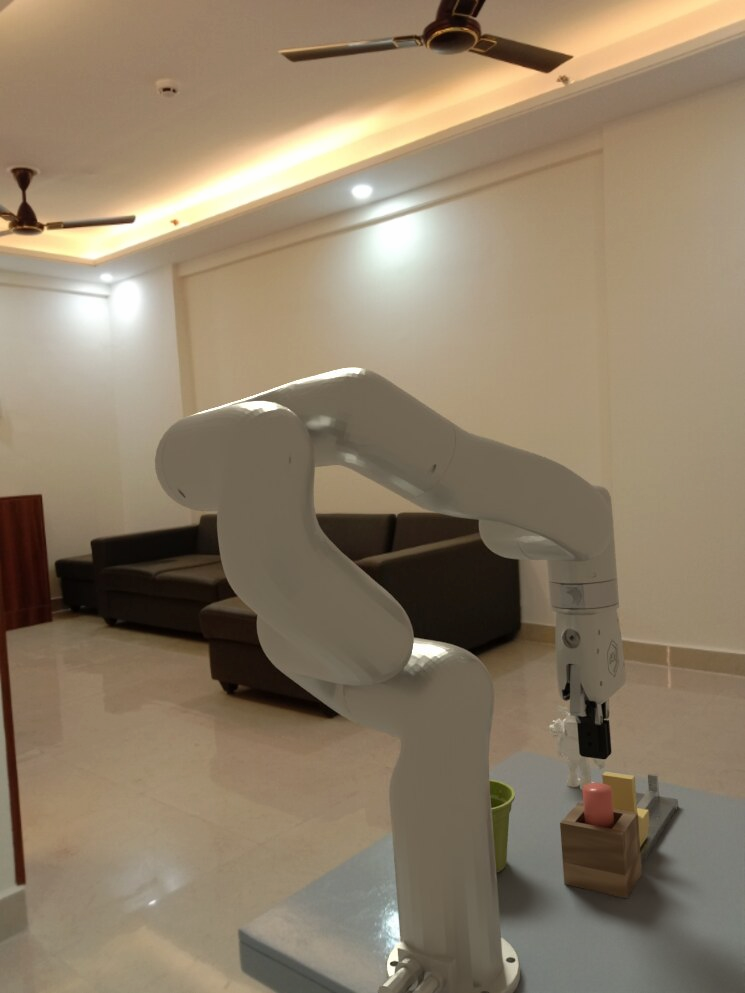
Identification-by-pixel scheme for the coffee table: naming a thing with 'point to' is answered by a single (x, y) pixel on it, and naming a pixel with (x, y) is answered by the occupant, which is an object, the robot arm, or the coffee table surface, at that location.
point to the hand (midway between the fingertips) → (595, 755)
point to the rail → (655, 813)
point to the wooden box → (601, 852)
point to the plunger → (598, 805)
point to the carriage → (627, 799)
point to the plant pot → (500, 819)
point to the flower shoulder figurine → (572, 750)
